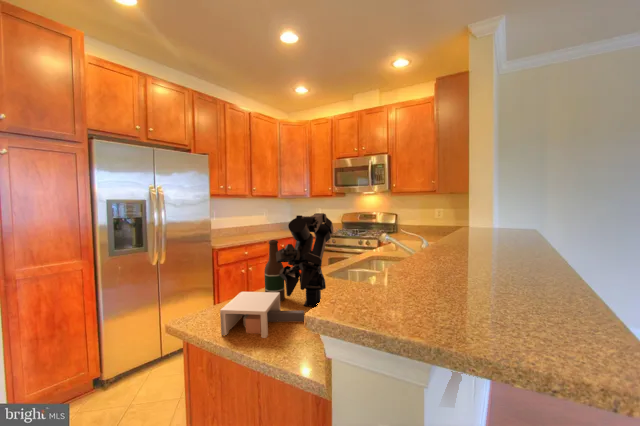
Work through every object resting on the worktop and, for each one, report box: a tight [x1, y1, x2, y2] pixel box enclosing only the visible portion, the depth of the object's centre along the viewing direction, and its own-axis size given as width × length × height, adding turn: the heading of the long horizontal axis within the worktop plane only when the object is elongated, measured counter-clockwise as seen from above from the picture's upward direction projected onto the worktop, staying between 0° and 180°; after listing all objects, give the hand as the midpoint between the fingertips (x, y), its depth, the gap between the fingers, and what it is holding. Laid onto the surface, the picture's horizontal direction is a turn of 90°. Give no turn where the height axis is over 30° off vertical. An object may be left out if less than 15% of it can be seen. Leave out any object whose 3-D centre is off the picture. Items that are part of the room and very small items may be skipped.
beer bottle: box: [264, 239, 286, 303], centre depth 114 cm, size 8×8×24 cm
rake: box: [242, 310, 305, 328], centre depth 94 cm, size 6×19×3 cm, turn 87°
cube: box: [245, 314, 261, 334], centre depth 89 cm, size 4×4×4 cm
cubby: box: [219, 291, 281, 339], centre depth 93 cm, size 16×14×8 cm
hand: (294, 292), depth 88 cm, fingers open, 9 cm apart
